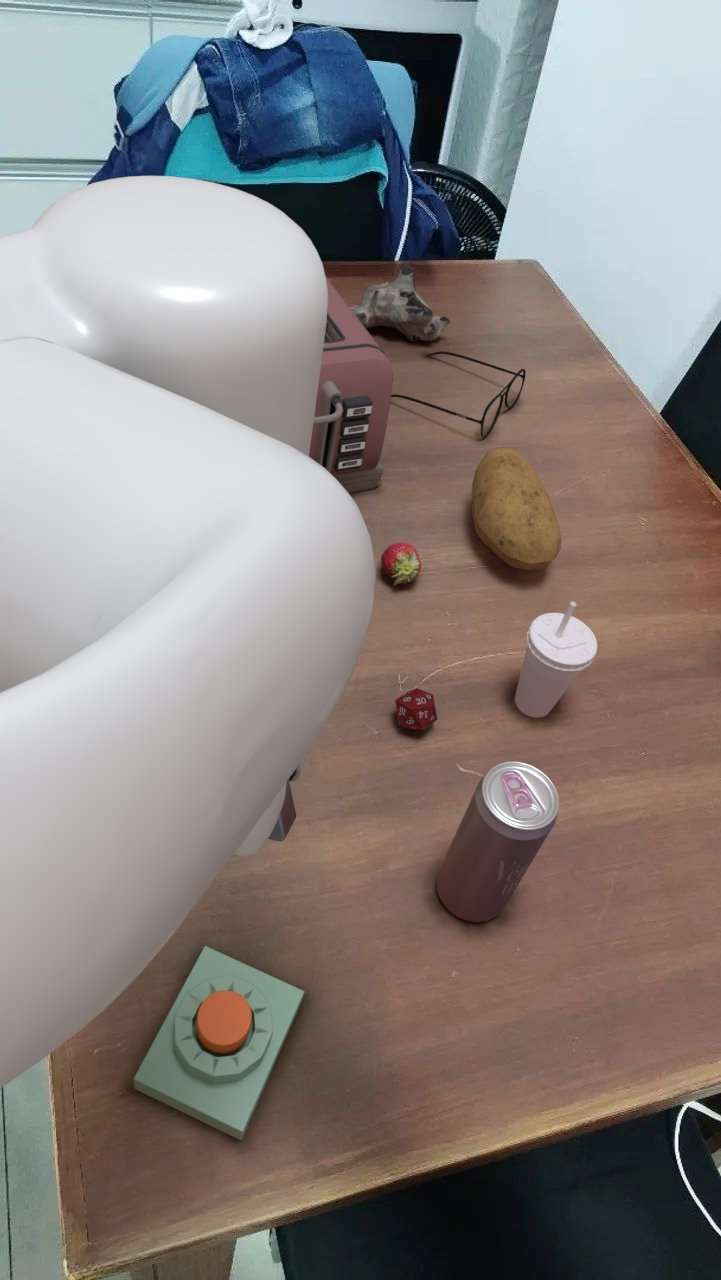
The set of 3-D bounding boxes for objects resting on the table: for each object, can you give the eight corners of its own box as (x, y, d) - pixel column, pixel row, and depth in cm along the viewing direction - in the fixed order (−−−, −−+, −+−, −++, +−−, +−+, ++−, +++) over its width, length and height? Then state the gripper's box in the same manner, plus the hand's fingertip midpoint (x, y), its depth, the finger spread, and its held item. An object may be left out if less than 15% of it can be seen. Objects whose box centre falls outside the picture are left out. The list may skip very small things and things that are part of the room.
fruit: (411, 555, 101) (420, 522, 97) (421, 595, 97) (430, 561, 93) (373, 555, 100) (381, 521, 96) (382, 594, 96) (390, 560, 93)
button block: (241, 1141, 60) (244, 1125, 58) (134, 1088, 62) (132, 1070, 59) (301, 1001, 67) (307, 981, 64) (204, 957, 68) (205, 934, 65)
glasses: (479, 445, 117) (485, 411, 113) (377, 410, 122) (380, 376, 118) (522, 397, 126) (528, 363, 122) (426, 366, 131) (429, 333, 127)
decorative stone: (338, 342, 126) (349, 267, 121) (331, 323, 134) (342, 251, 128) (449, 356, 130) (465, 283, 124) (436, 337, 137) (451, 267, 131)
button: (235, 1063, 60) (236, 1054, 59) (186, 1040, 61) (187, 1031, 59) (259, 1012, 63) (260, 1003, 61) (212, 990, 63) (212, 981, 62)
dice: (400, 745, 84) (408, 719, 81) (386, 706, 86) (393, 680, 84) (438, 739, 85) (448, 713, 82) (423, 701, 88) (431, 675, 85)
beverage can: (488, 851, 78) (540, 751, 67) (517, 915, 74) (577, 822, 63) (424, 866, 76) (466, 766, 65) (450, 933, 72) (500, 840, 61)
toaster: (136, 561, 94) (130, 422, 81) (58, 365, 115) (44, 229, 102) (396, 513, 105) (427, 384, 93) (283, 342, 126) (295, 217, 113)
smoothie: (499, 673, 91) (540, 574, 81) (560, 681, 92) (609, 583, 82) (503, 725, 87) (547, 627, 77) (568, 732, 88) (620, 636, 77)
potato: (483, 593, 99) (507, 529, 92) (450, 499, 109) (468, 435, 102) (557, 592, 101) (585, 529, 94) (517, 499, 111) (540, 436, 104)
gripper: (-90, 576, 29) (-6, 854, 43) (341, 755, 27) (285, 987, 41) (48, 452, 34) (84, 737, 48) (421, 596, 32) (348, 850, 46)
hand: (177, 851), depth 44 cm, fingers closed
